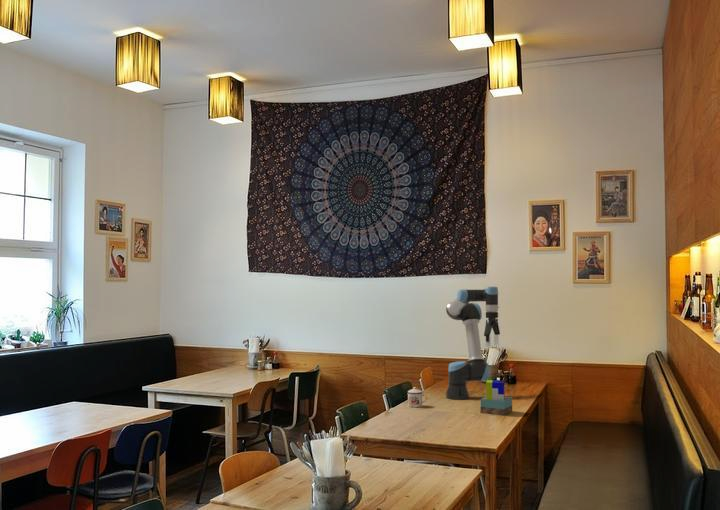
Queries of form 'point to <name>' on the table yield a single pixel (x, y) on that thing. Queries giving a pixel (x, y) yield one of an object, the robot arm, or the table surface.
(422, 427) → the table surface
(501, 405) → the top block
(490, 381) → the puzzle toy
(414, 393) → the teacup with lid
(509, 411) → the base block
